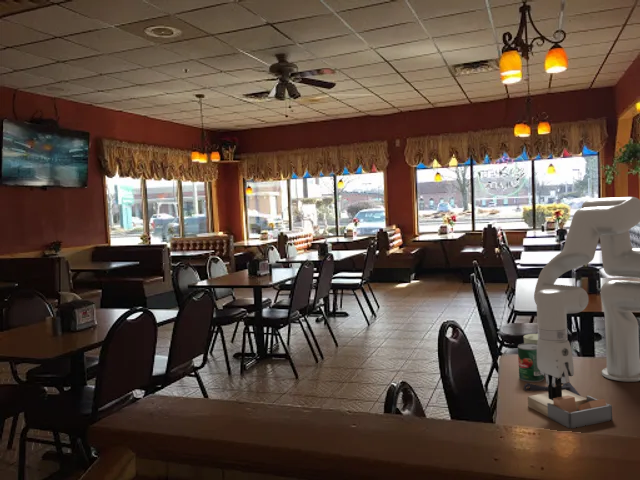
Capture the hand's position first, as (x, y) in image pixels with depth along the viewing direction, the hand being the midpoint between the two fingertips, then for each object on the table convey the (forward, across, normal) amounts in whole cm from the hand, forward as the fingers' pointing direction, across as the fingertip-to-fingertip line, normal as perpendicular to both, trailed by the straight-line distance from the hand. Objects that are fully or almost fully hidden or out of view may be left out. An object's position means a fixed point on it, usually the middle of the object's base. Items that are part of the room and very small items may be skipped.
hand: (555, 398), depth 153 cm
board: (+4, +3, -3) cm, 6 cm away
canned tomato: (+4, +28, -13) cm, 31 cm away
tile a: (0, -6, -7) cm, 9 cm away
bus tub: (+4, -6, -3) cm, 8 cm away
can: (+4, +36, -21) cm, 42 cm away
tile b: (+1, -2, 0) cm, 3 cm away
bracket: (+5, +17, -11) cm, 21 cm away
